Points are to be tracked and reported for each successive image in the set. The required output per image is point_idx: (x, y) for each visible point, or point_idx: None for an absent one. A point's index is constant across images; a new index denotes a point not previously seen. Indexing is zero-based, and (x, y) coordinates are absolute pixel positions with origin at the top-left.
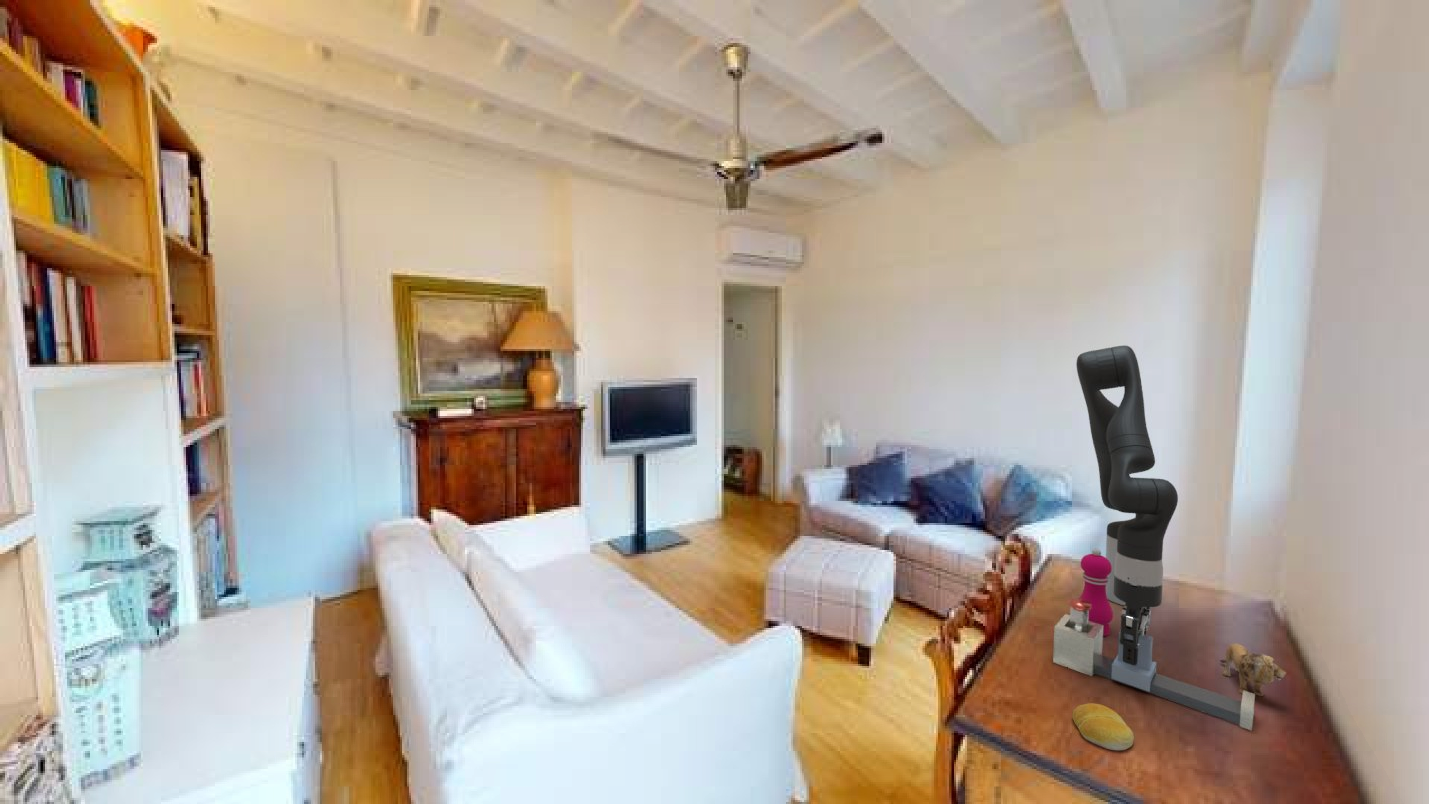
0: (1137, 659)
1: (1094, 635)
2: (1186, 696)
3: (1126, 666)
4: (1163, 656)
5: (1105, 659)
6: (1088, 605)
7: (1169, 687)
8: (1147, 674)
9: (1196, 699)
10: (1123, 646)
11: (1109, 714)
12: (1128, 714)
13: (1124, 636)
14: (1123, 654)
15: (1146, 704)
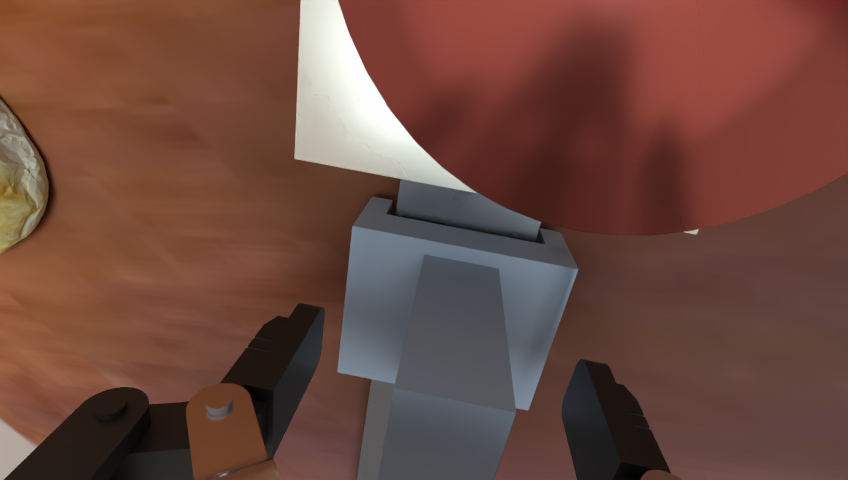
0: (307, 383)
1: (383, 163)
2: (363, 436)
3: (378, 290)
4: (785, 391)
5: None
6: (522, 171)
7: (390, 401)
8: (357, 365)
9: (361, 458)
10: (255, 369)
11: None
12: (161, 243)
13: (110, 469)
14: (283, 329)
15: (287, 301)
